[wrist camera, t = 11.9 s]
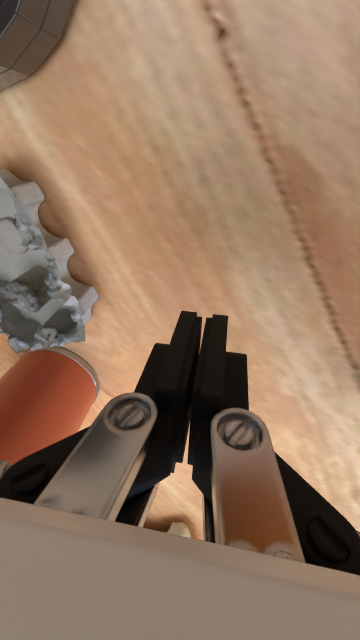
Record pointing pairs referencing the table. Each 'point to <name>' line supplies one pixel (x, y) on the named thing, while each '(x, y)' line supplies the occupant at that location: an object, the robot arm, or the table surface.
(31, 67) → the black pan
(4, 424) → the tin can
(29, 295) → the egg carton
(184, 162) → the table surface
